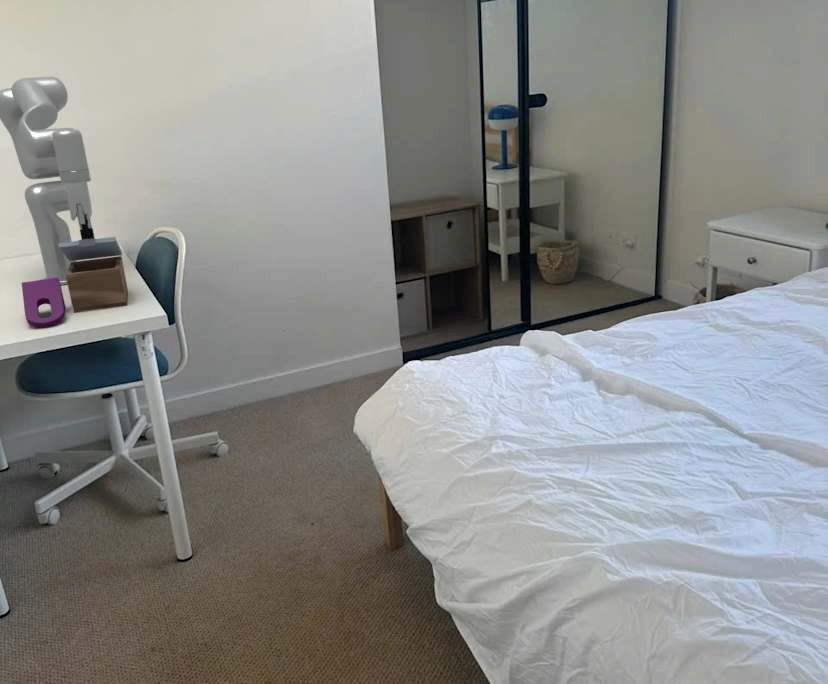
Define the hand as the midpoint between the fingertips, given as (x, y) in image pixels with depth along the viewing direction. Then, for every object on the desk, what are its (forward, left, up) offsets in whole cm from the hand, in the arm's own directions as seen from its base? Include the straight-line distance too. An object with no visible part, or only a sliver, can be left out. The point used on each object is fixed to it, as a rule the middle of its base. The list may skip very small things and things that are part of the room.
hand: (89, 242), depth 208 cm
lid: (-2, 0, -4) cm, 4 cm away
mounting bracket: (+8, -14, -18) cm, 24 cm away
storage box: (-2, 0, -18) cm, 18 cm away
